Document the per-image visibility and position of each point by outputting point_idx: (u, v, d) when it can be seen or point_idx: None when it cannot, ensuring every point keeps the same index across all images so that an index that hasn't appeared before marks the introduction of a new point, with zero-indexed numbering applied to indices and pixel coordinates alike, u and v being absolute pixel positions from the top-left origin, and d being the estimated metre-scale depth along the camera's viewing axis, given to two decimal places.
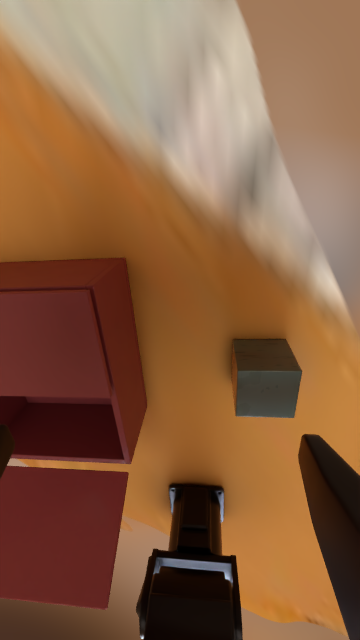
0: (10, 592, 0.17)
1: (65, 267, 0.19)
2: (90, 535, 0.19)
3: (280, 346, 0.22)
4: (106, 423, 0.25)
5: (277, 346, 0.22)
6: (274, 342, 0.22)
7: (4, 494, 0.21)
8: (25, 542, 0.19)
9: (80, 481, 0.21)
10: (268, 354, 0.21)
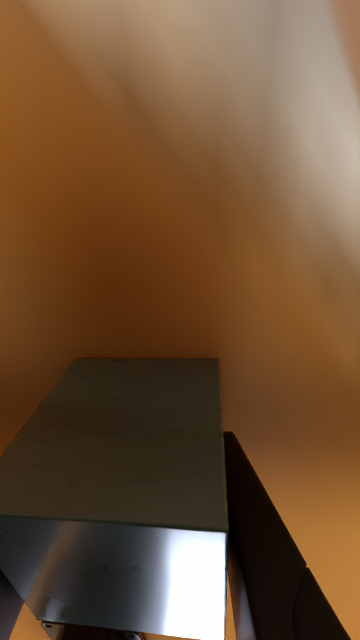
0: None
1: None
2: None
3: (191, 384, 0.07)
4: None
5: (182, 384, 0.07)
6: (180, 369, 0.07)
7: None
8: None
9: None
10: (135, 419, 0.06)
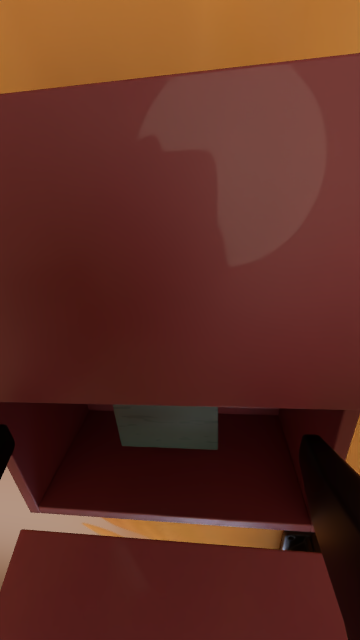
0: None
1: None
2: None
3: None
4: (237, 447, 0.15)
5: None
6: None
7: (85, 600, 0.10)
8: None
9: (237, 573, 0.10)
10: (172, 415, 0.11)
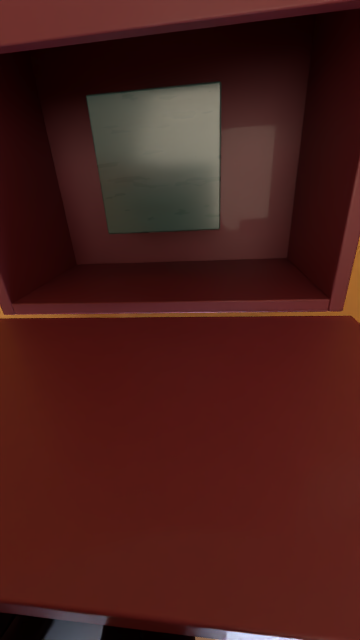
0: (69, 575, 0.03)
1: None
2: (343, 402, 0.06)
3: (198, 128, 0.09)
4: (240, 271, 0.13)
5: (191, 129, 0.09)
6: (187, 106, 0.09)
7: (53, 346, 0.08)
8: (121, 419, 0.06)
9: (242, 327, 0.09)
10: (166, 172, 0.10)
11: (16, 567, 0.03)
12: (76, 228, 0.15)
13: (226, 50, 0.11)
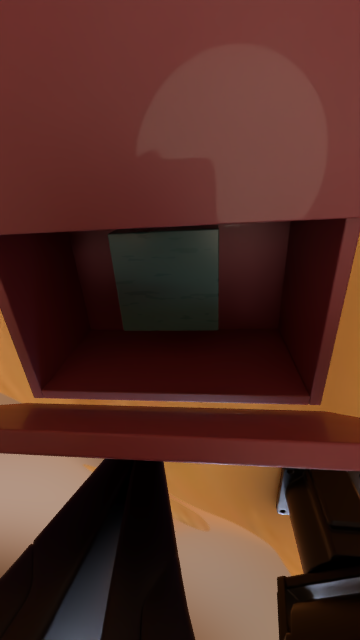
0: (110, 430, 0.05)
1: None
2: (311, 420, 0.07)
3: (200, 260, 0.11)
4: (237, 349, 0.15)
5: (194, 260, 0.11)
6: (191, 244, 0.11)
7: (82, 408, 0.10)
8: (141, 416, 0.07)
9: (236, 410, 0.11)
10: (173, 289, 0.11)
11: (72, 428, 0.05)
12: (91, 301, 0.17)
13: None
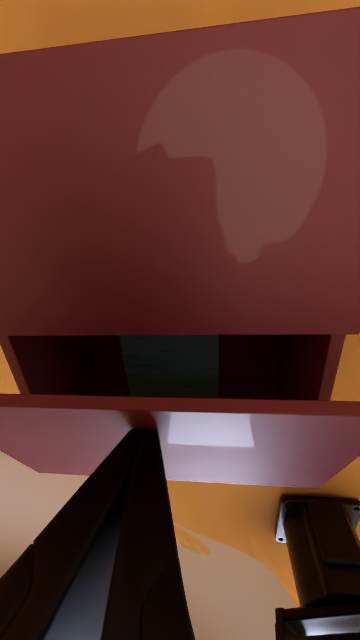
0: None
1: None
2: None
3: (201, 340, 0.12)
4: None
5: (196, 340, 0.12)
6: None
7: None
8: None
9: None
10: (176, 363, 0.12)
11: None
12: (97, 351, 0.18)
13: None
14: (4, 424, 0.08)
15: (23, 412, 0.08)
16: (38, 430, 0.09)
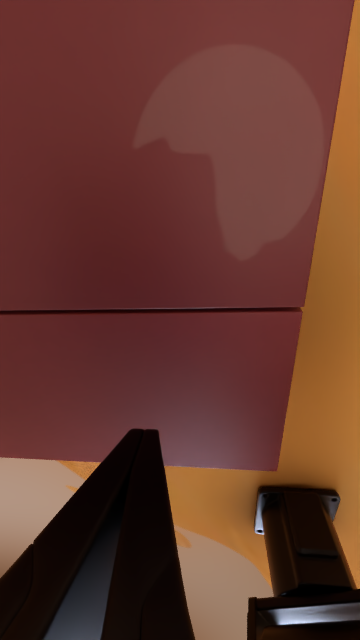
0: None
1: None
2: None
3: None
4: None
5: None
6: None
7: None
8: None
9: None
10: None
11: None
12: None
13: None
14: None
15: (1, 324, 0.09)
16: (8, 357, 0.10)
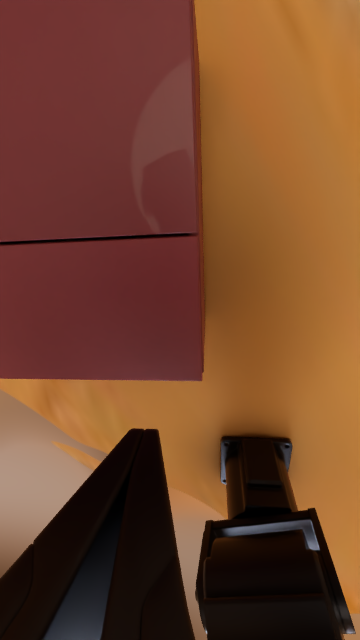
0: None
1: None
2: None
3: None
4: None
5: None
6: None
7: None
8: None
9: None
10: None
11: None
12: None
13: None
14: None
15: None
16: None
